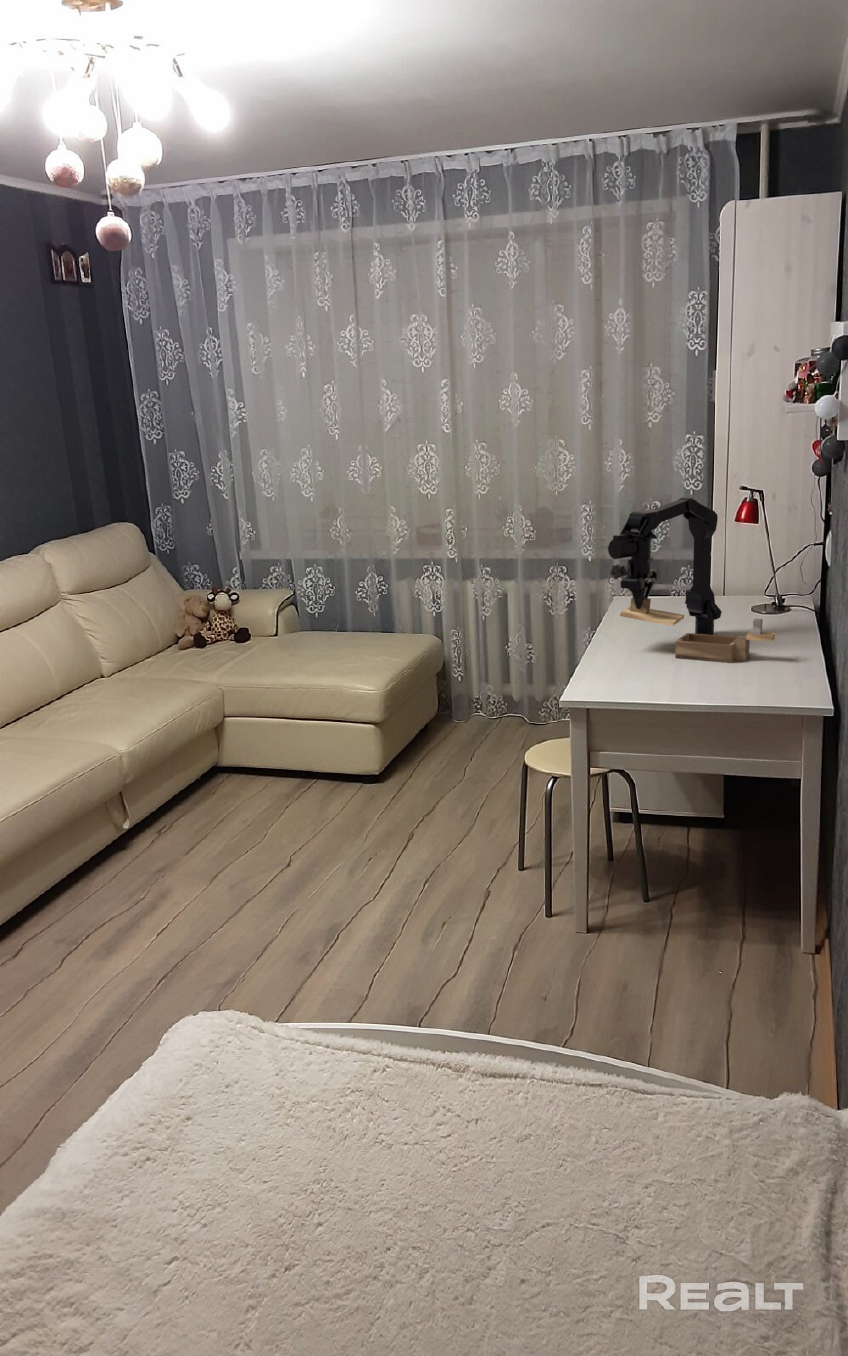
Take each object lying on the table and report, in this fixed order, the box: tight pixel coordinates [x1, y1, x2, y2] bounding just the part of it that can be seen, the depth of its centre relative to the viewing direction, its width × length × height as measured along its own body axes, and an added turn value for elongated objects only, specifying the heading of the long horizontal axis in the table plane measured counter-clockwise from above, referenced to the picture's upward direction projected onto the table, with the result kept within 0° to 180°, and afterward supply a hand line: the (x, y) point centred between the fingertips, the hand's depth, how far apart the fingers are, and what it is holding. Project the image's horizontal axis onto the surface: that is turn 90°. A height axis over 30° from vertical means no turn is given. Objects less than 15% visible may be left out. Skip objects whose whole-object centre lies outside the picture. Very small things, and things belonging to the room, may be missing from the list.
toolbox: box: [674, 632, 751, 664], centre depth 305 cm, size 11×19×6 cm, turn 60°
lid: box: [619, 596, 685, 627], centre depth 311 cm, size 11×16×5 cm
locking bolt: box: [746, 617, 776, 642], centre depth 296 cm, size 4×7×6 cm, turn 60°
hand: (640, 607), depth 313 cm, fingers closed on lid, 3 cm apart
